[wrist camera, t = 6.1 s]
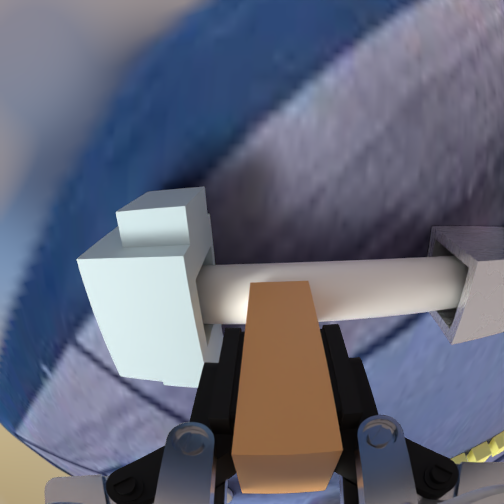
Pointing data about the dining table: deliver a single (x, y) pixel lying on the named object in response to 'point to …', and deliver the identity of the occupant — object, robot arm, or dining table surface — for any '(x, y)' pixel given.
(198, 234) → the socket block
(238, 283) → the hammer
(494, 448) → the yellow cubes
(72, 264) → the dining table surface
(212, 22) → the dining table surface
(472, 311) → the grey concrete brick
